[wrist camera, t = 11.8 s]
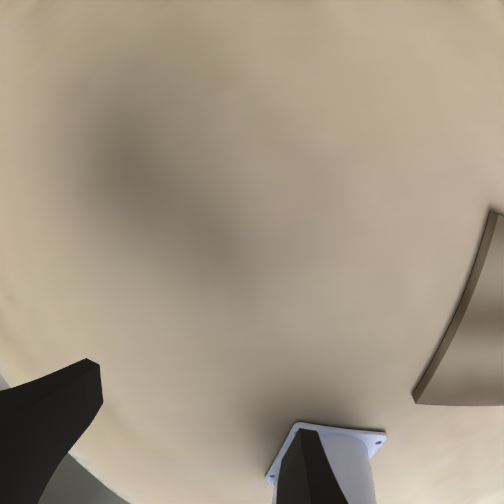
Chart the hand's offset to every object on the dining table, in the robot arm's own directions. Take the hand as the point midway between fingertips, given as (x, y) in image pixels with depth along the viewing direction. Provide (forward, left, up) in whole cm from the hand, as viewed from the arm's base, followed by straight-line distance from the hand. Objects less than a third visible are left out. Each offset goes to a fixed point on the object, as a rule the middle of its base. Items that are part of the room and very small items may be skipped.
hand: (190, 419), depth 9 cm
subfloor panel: (+3, -23, -9) cm, 25 cm away
